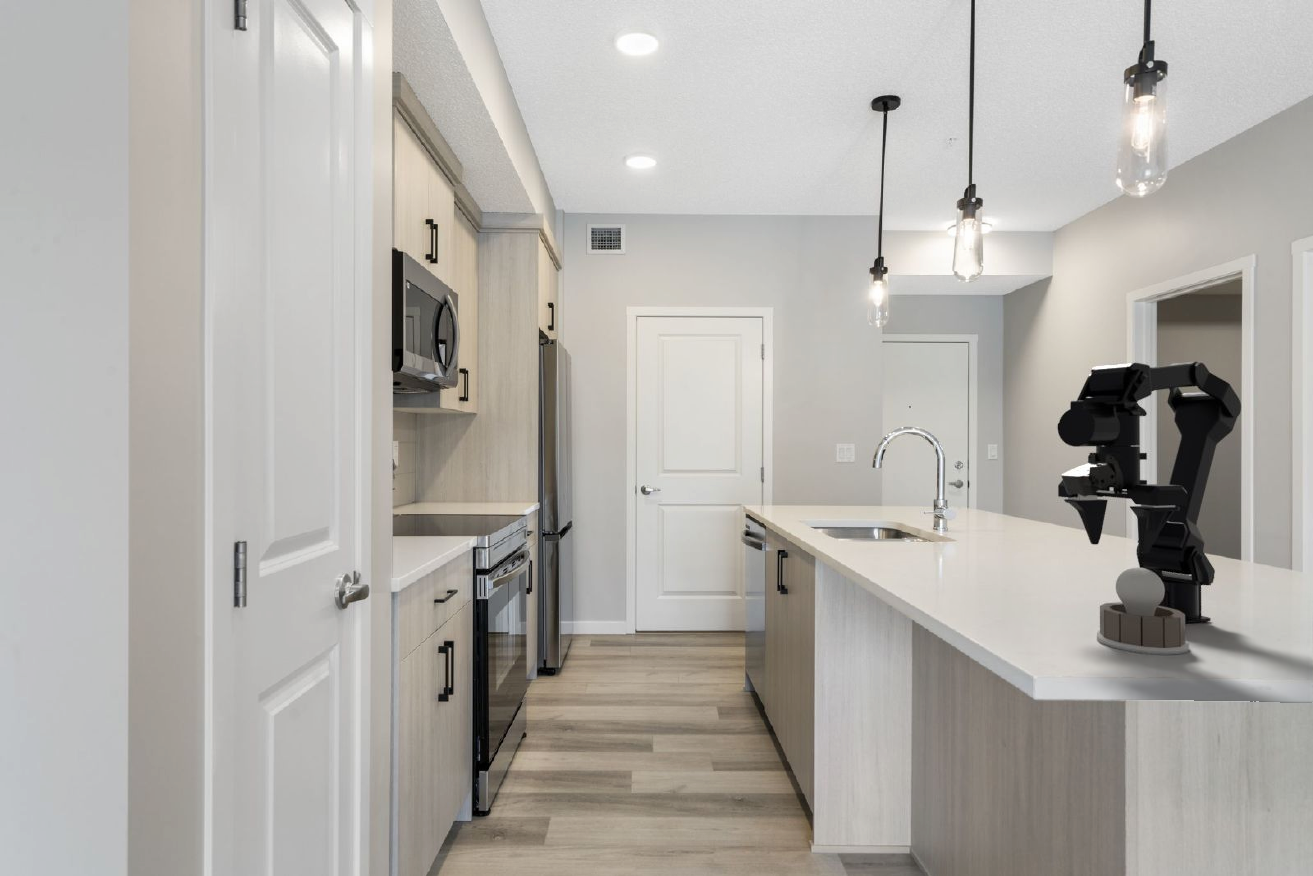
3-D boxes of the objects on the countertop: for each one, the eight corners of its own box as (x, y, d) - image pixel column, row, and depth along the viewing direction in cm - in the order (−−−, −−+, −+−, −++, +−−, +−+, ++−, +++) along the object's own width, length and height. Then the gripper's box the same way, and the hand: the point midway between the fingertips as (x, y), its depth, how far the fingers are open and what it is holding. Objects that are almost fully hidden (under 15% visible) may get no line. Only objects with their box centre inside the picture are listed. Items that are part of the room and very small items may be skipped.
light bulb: (1173, 644, 103) (1172, 572, 103) (1126, 642, 104) (1125, 570, 104) (1153, 633, 109) (1153, 564, 109) (1109, 631, 110) (1108, 563, 110)
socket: (1141, 631, 113) (1140, 600, 113) (1209, 651, 102) (1208, 616, 102) (1079, 636, 110) (1078, 603, 111) (1142, 657, 100) (1141, 621, 100)
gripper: (1028, 446, 121) (1029, 542, 121) (1123, 447, 103) (1124, 560, 103) (1087, 445, 124) (1088, 539, 124) (1190, 446, 105) (1190, 557, 105)
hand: (1118, 548), depth 114 cm, fingers open, 9 cm apart
